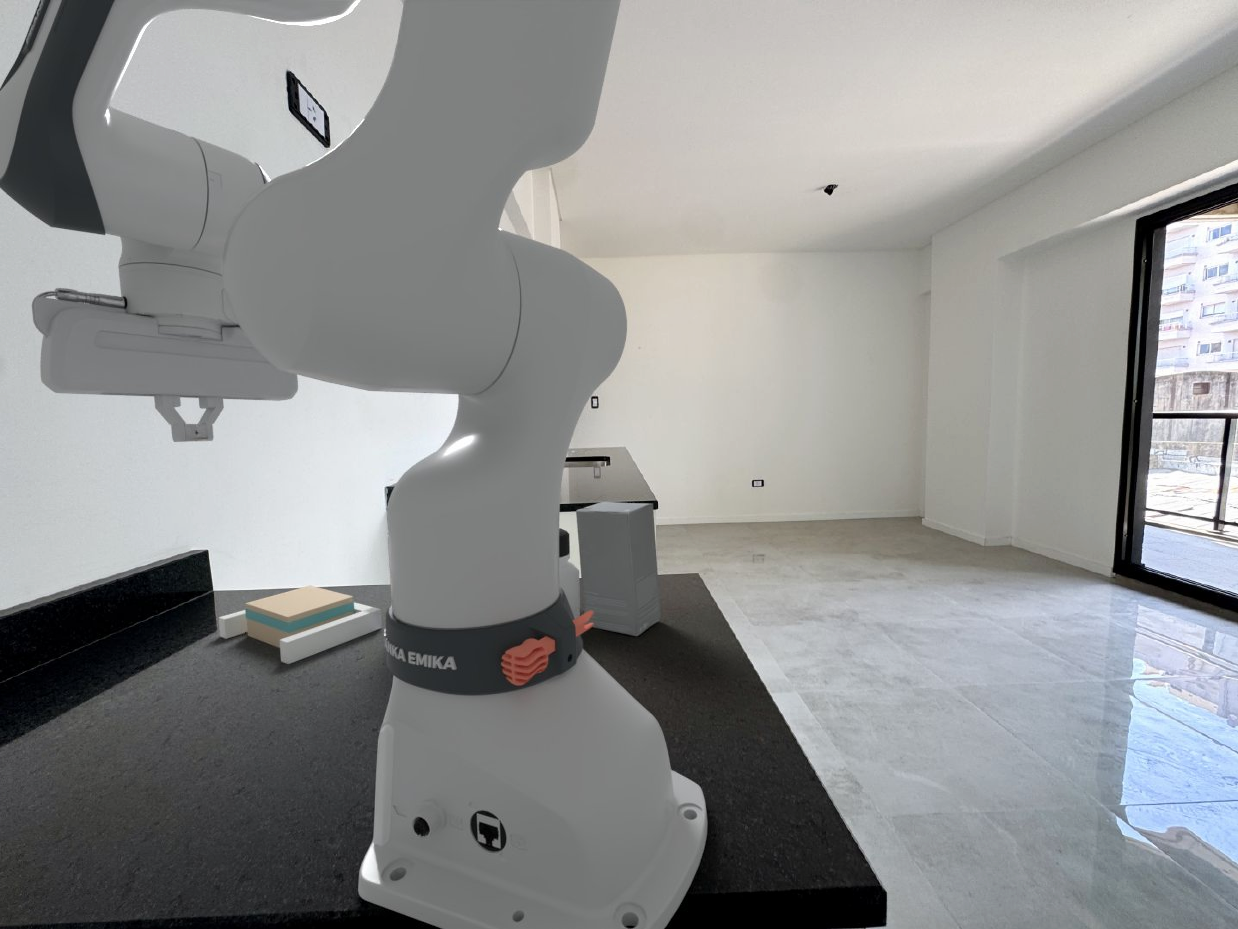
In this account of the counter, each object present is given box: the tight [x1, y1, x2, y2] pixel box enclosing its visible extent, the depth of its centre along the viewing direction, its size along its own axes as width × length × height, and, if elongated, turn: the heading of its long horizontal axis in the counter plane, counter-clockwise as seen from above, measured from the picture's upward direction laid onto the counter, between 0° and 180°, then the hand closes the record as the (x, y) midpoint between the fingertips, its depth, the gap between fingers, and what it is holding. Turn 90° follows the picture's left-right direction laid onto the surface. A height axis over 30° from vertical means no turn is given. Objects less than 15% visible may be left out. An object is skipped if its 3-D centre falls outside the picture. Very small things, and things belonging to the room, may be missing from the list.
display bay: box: [218, 601, 382, 665], centre depth 66 cm, size 16×12×2 cm
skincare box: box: [575, 501, 662, 637], centre depth 66 cm, size 8×7×16 cm
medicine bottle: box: [559, 527, 581, 619], centre depth 69 cm, size 7×7×12 cm
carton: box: [244, 585, 355, 649], centre depth 66 cm, size 10×8×4 cm
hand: (193, 441), depth 53 cm, fingers closed
